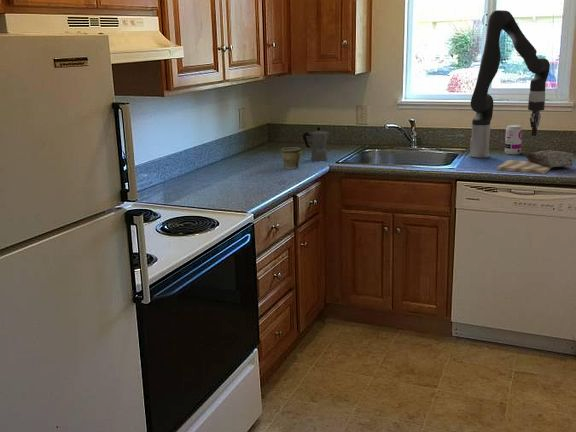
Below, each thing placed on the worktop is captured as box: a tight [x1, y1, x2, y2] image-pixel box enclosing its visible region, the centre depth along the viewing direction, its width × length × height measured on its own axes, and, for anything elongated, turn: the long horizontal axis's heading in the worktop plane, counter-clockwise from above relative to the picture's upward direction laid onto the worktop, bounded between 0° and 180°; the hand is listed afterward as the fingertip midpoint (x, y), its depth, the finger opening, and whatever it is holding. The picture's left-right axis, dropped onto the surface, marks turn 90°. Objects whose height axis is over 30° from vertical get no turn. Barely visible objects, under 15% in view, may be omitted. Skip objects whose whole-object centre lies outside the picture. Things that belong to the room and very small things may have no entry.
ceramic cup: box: [280, 146, 305, 170], centre depth 321 cm, size 13×10×10 cm
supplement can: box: [504, 124, 523, 155], centre depth 342 cm, size 8×8×15 cm
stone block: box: [525, 149, 574, 168], centre depth 306 cm, size 13×7×20 cm
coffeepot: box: [302, 126, 331, 162], centre depth 340 cm, size 15×9×18 cm, turn 99°
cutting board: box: [496, 159, 553, 175], centre depth 305 cm, size 22×20×2 cm
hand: (534, 135), depth 313 cm, fingers closed
